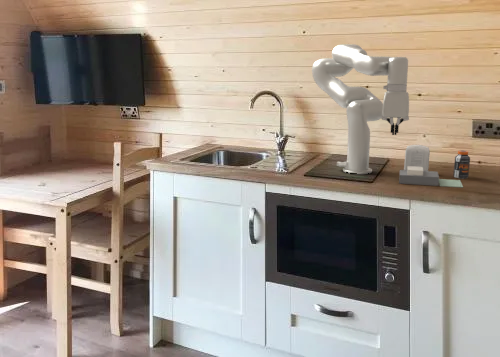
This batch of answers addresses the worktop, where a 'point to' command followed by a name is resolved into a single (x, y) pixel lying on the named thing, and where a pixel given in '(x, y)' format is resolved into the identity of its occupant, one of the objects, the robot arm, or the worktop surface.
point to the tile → (414, 170)
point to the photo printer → (417, 156)
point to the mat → (450, 183)
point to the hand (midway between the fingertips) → (394, 134)
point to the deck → (419, 178)
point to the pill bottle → (461, 165)
